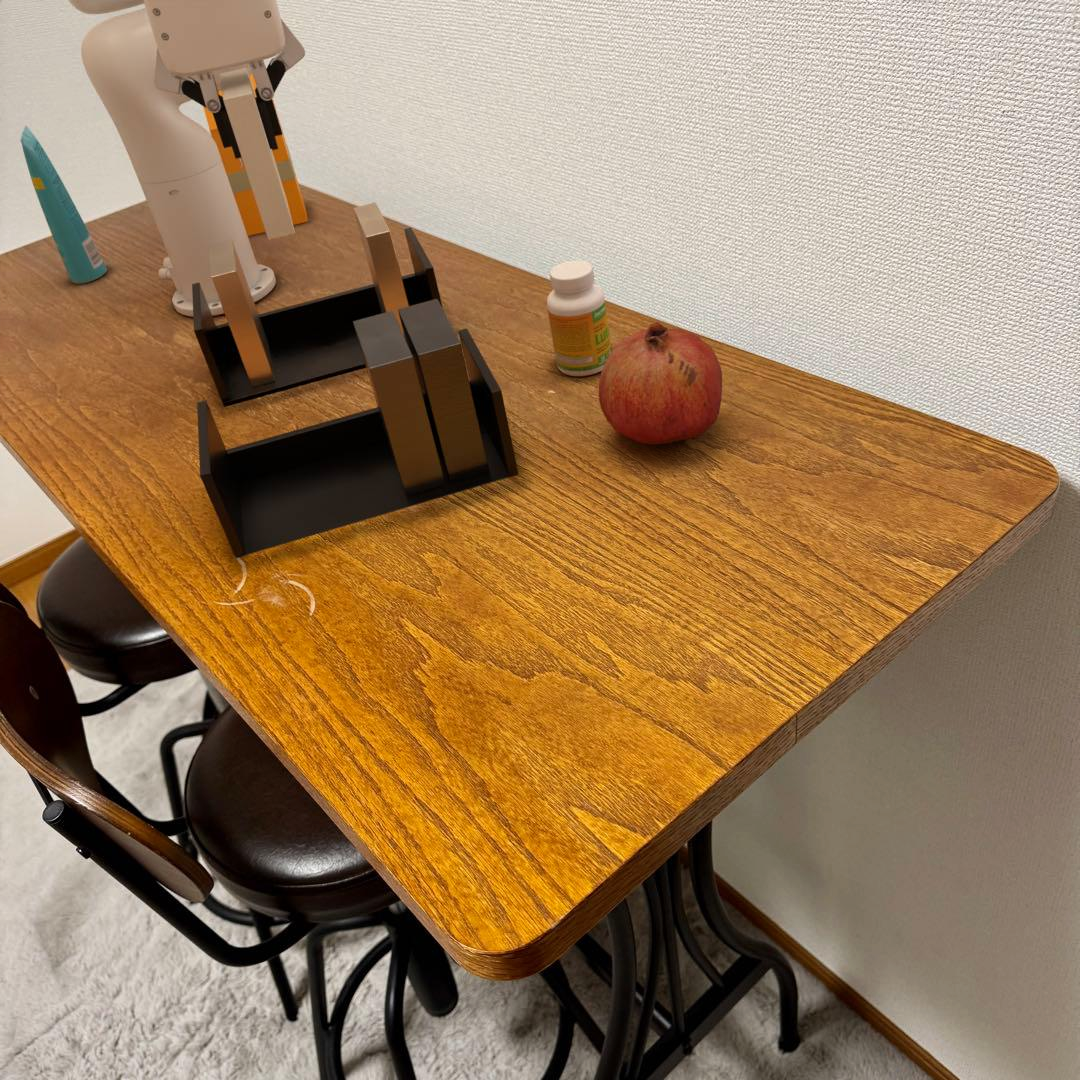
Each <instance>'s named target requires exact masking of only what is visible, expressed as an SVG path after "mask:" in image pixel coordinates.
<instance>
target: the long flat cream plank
mask: <svg viewBox="0 0 1080 1080" xmlns="http://www.w3.org/2000/svg"><path fill="white" fill-rule="evenodd" d="M220 80H221V87H222V94H223V101H224V104H225V107H226V110H227V113H228V116H229V119H230V122H231V125H232V129H233V132H234V135H235V138H236V141H237V144H238V147H239V150H240V153H241V156H242V160H243V163H244V166H245V169H246V172H247V175H248V178H249V181H250V184H251V187H252V190H253V194H254V197H255V200H256V203H257V206H258V209H259V212H260V215H261V218H262V221H263V224H264V228H265V231H266V232H265V234H266V236H267V239H268V241H271V240H275V239H279V238H282V237H286V236H292V235H295V234H296V231H295V227H294V226H295V225H293V222H292V218H291V214H290V210H289V206H288V202H287V199H286V195H285V192H284V189H283V186H282V182H281V179H280V176H279V172H278V169H277V166H276V162H275V159H274V156H273V153H272V149H270V147H269V143H268V140H267V137H266V134H265V130H264V127H263V124H262V120H261V117H260V114H259V111H258V107H257V104H256V99H255V93H254V90H253V87H252V84H251V80H250V77H249V74H248V70H247V68H243V69H239V70H234V71H230V72H225V73H221V74H220Z"/></svg>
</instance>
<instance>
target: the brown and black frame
mask: <svg viewBox="0 0 1080 1080" xmlns="http://www.w3.org/2000/svg"><path fill="white" fill-rule="evenodd" d="M353 212H354V216H355V219H356V224H357V227H358V232H359V234H360V238H361V242H362V247H363V249H364V253H365V258H366V260H367V265H368V268H369V271H370V276H371V278H372V284H367V285H364V286H360V287H357V288H352V289H349V290H345V291H342V292H337V293H333V294H330V295H327V296H323V297H322V296H321V297H319V298H316V299H311V300H308V301H305V302H300V303H297V304H293V305H290V306H285V307H281V308H278V309H277V308H276V309H273V310H271V311H267V312H266V311H265V312H262V313H258V309H257V306H256V304H255V303H254V301H253V298H252V295H251V292H250V289H249V287H248V284H247V281H246V278H245V275H244V272H243V269H242V267H241V264H240V261H239V258H238V255H237V252H236V250H235V247H234V244H233V241H232V239H230V240H226V241H222V242H218V243H214V244H210V245H209V257H210V269H211V278H212V281H213V284H214V286H215V289H216V292H217V295H218V297H219V300H220V303H221V305H222V308H223V311H224V313H225V314H224V316H225V319H226V321H227V322H225V323H222V324H218V325H216V321H215V320H214V316H212V314H211V312H210V309H209V306H208V304H207V301H206V298H205V296H204V293H203V291H202V288H201V285H200V283H199V282H198V283H195V284H192V298H193V317H192V319H193V320H192V321H193V332H194V335H195V338H196V340H197V342H198V345H199V347H200V350H201V352H202V355H203V358H204V360H205V362H206V365H207V367H208V371H209V373H210V375H211V377H212V380H213V383H214V385H215V388H216V390H217V394H218V395H219V398H220V401H221V403H222V406H223V407H224V408H227V407H229V406H233V405H238V404H241V403H245V402H248V401H251V400H256V399H259V398H263V397H266V396H270V395H273V394H277V393H280V392H285V391H288V390H292V389H296V388H299V387H302V386H303V387H304V386H307V385H310V384H314V383H317V382H321V381H325V380H328V379H331V378H335V377H339V376H342V375H343V376H344V375H346V374H350V373H353V372H357V371H360V370H363V369H367V368H366V365H365V362H364V358H363V355H362V351H361V348H360V344H359V341H358V337H357V334H356V331H355V327H354V324H353V321H356V320H360V319H364V318H368V317H371V316H375V315H379V314H382V313H386V312H390V311H393V312H394V314H395V317H396V319H397V321H398V324H399V326H400V328H401V331H402V333H403V335H404V332H403V328H402V324H401V320H400V316H399V312H398V309H401V308H405V307H408V306H412V305H416V304H420V303H423V302H427V301H431V300H434V299H438V301H439V303H440V305H441V307H442V309H443V310H444V308H443V303H442V299H441V295H440V290H439V286H438V282H437V278H436V277H437V276H436V272H435V269H434V266H433V264H432V262H431V260H430V259H429V257H428V255H427V253H426V251H425V250H424V248H423V246H422V244H421V243H420V241H419V239H418V237H417V234H415V231H414V229H413V228H412V227H407V228H404V230H403V231H404V235H405V239H406V243H407V247H408V252H409V257H410V259H411V263H412V267H413V273H410V274H405V275H402V272H401V268H400V264H399V261H398V257H397V253H396V248H395V244H394V241H393V237H392V232H391V230H390V228H389V226H388V224H387V222H386V220H385V218H384V216H383V214H382V212H381V210H380V208H379V206H378V204H377V202H372V203H366V204H364V205H359V206H356V207H353ZM404 338H405V335H404ZM405 340H406V339H405Z"/></svg>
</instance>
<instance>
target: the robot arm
mask: <svg viewBox="0 0 1080 1080" xmlns="http://www.w3.org/2000/svg"><path fill="white" fill-rule="evenodd" d="M68 2H69V3H70V5H72V6H73V7H74V8H75V9H76V10H77V11H79V12H81V13H83V14H86V15H104V14H110V13H115V12H118V11H119V12H120V11H123V10H127V9H130V8H135V7H138V6H141V5H144V8H142V9H141V8H140V9H137V10H134V11H131V12H125V13H123V14H120V15H116V16H113V17H111V18H108V19H106V20H103V21H102V22H100V23H97V24H96V25H95V26H93V27H92V28H91V29H89V30H88V32H87V33H86V34H85V36H84V38H83V40H82V42H81V47H80V55H81V60H82V64H83V67H84V69H85V72H86V74H87V75H86V76H88V79H89V80H90V83H91V85H92V87H93V88H94V90H95V92H96V93H97V95H98V97H99V99H100V100H101V103H102V105H103V106H104V107H105V110H106V111H107V113H108V115H109V117H110V118H111V120H112V122H113V125H114V127H115V128H116V130H117V133H118V135H119V137H120V139H121V141H122V143H123V145H124V148H125V150H126V153H127V155H128V158H129V160H130V162H131V163H130V164H131V165H132V167H133V170H134V172H135V175H136V178H137V180H138V182H139V185H140V187H141V189H142V192H143V195H144V198H145V201H146V203H147V205H148V209H149V210H150V213H151V215H152V218H153V221H154V223H155V226H156V228H157V231H158V233H159V236H160V238H161V241H162V243H163V246H164V248H165V251H166V253H167V256H166V257H165V258H164V259H163V261H162V266H163V267H161V268H159V270H158V272H157V274H158V277H159V279H161V280H164V281H173V284H174V287H175V291H174V293H173V295H172V298H171V302H172V305H173V307H174V309H175V310H176V312H177V313H179V314H180V315H182V316H187V317H192V318H193V298H192V284H195V283H198V282H199V283H200V285H201V288H202V291H203V293H204V296H205V298H206V301H207V304H208V306H209V309H210V312H211V314H212V317H214V316H220V315H225V313H224V311H223V308H222V305H221V303H220V300H219V297H218V295H217V292H216V289H215V286H214V284H213V281H212V278H211V269H210V257H209V245H210V244H214V243H218V242H222V241H226V240H230V239H232V241H233V244H234V247H235V250H236V252H237V255H238V258H239V261H240V264H241V267H242V269H243V272H244V275H245V278H246V281H247V284H248V287H249V289H250V292H251V295H252V298H253V301H254V304H255V303H257V302H258V301H260V300H262V299H263V298H265V297H266V296H267V295H268V294H269V293H270V292H272V290H273V289H274V287H275V286H276V283H277V279H276V275H275V273H274V270H273V269H272V268H271V267H269V266H268V265H267V266H266V265H265V264H261V263H260V264H259V263H257V259H256V257H255V254H254V251H253V248H252V245H251V242H250V239H249V236H247V233H246V230H245V227H244V224H243V221H242V218H241V215H240V212H239V209H238V207H237V204H236V201H235V198H234V195H233V192H232V189H231V186H230V183H229V180H228V177H227V174H226V171H225V168H224V165H223V162H222V160H221V156H220V153H219V150H218V148H217V145H216V143H215V141H214V139H213V138H212V136H211V133H210V131H208V130H207V129H206V128H205V127H203V126H202V125H201V124H199V123H198V122H197V121H195V120H193V119H191V118H190V117H189V116H187V115H185V114H184V113H183V112H182V111H181V109H180V106H182V105H183V104H186V103H188V102H191V101H194V102H195V103H197V104H198V105H200V106H202V107H203V106H204V107H205V108H207V109H208V111H210V112H212V113H213V116H214V119H215V122H216V125H217V128H218V131H219V134H220V137H221V141H222V144H223V146H224V148H227V147H232V149H233V152H234V155H235V158H236V159H237V158H242V157H241V153H240V150H239V147H238V144H237V141H236V138H235V135H234V132H233V129H232V125H231V122H230V119H229V116H228V113H227V110H226V107H225V104H224V101H223V97H222V96H220V95H219V92H218V91H221V90H222V87H221V80H220V74H221V73H225V72H230V71H234V70H239V69H243V68H247V70H248V74H249V77H250V75H251V74H253V77H254V80H255V83H256V86H257V87H256V89H255V93H256V96H257V97H255V99H256V104H257V107H258V111H259V114H260V117H261V120H262V124H263V127H264V130H265V134H266V137H267V140H268V143H269V147H270V149H272V150H276V149H278V145H277V142H276V138H275V136H279V135H283V134H284V133H283V134H282V130H283V129H282V130H281V127H280V124H281V123H280V124H279V121H280V119H279V120H278V117H279V116H278V117H277V114H278V112H277V113H276V111H277V109H276V110H275V107H276V106H275V107H274V104H275V102H274V103H273V101H274V96H275V93H276V91H277V89H278V87H279V86H280V84H281V82H282V80H283V78H284V76H285V73H286V72H288V71H289V70H290V69H293V67H295V65H297V64H298V63H299V62H300V61H301V60H302V59H303V58H304V57H305V56H306V50H305V48H304V46H303V44H302V43H301V42H300V41H299V39H298V38H297V37H296V36H295V34H294V33H293V32H292V31H291V29H290V27H289V26H288V25H287V24H286V23H285V21H284V20H283V19H282V17H281V15H280V10H279V7H278V4H277V1H276V0H68ZM270 58H271V59H270ZM268 59H270V61H269V63H268V64H267V66H266V64H265V61H264V60H268ZM272 99H273V100H272Z"/></svg>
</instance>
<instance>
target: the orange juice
mask: <svg viewBox="0 0 1080 1080" xmlns="http://www.w3.org/2000/svg"><path fill="white" fill-rule="evenodd" d="M250 80H251V84H252V87H253V90H254V93H255V89H256V87H257V86H256V83H255V80H254V77H253V74H251V75H250ZM218 92H219V95H220V96H222V97H223V94H222V90H221V91H218ZM255 97H257V96H256V93H255ZM272 100H273V103H274V107H275V110H276V113H277V117H278V120H279V124H280V127H281V130H282V134H283V135H279V136H275V138H276V142H277V145H278V149H276V150H272V153H273V156H274V159H275V162H276V166H277V169H278V172H279V176H280V179H281V182H282V186H283V189H284V192H285V195H286V199H287V202H288V206H289V210H290V214H291V218H292V222H293V226H295V225H299V224H305V223H307V222H308V221H309V219H308V215H307V209H306V204H305V200H304V198H303V194H302V192H301V188H300V184H299V180H298V177H297V174H296V171H295V167H294V163H293V160H292V155H291V152H290V149H289V147H288V144H287V141H286V138H285V137H286V136H285V135H284V131H283V126H282V123H281V121H280V118H279V114H278V111H277V107H276V104H275V101H274V98H272ZM202 108H203V111H204V115H205V118H206V122H207V125H208V126H207V127H208V130H209V134H210V135H211V136H212V138H213V139H214V141H215V143H216V145H217V148H218V150H219V153H220V156H221V160H222V162H223V165H224V168H225V171H226V174H227V177H228V180H229V183H230V186H231V189H232V192H233V195H234V198H235V201H236V204H237V207H238V209H239V212H240V215H241V218H242V221H243V224H244V227H245V230H246V233H247V236H248V237H249V236H254V235H258V234H263V233H266V231H265V228H264V224H263V221H262V218H261V215H260V212H259V209H258V206H257V203H256V200H255V197H254V194H253V190H252V187H251V184H250V181H249V178H248V175H247V172H246V169H245V166H244V163H243V160H242V158H237V159H236V158H235V155H234V152H233V149H232V147H227V148H224V146H223V144H222V141H221V137H220V134H219V131H218V128H217V125H216V122H215V119H214V116H213V113H212V112H210V111H208V109H207V108H205V107H204V106H202ZM241 157H242V156H241Z"/></svg>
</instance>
